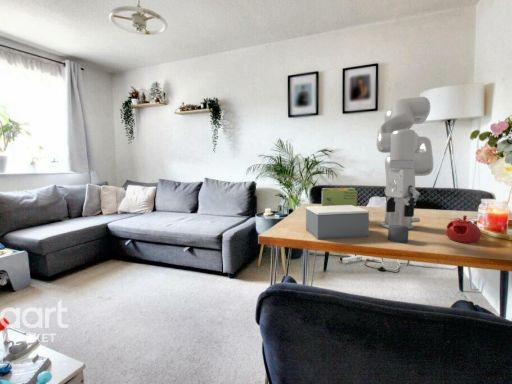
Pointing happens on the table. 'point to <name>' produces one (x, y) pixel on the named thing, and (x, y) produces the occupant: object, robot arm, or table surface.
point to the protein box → (339, 196)
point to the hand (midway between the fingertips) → (399, 214)
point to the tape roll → (398, 233)
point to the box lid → (336, 209)
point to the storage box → (337, 225)
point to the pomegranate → (463, 231)
